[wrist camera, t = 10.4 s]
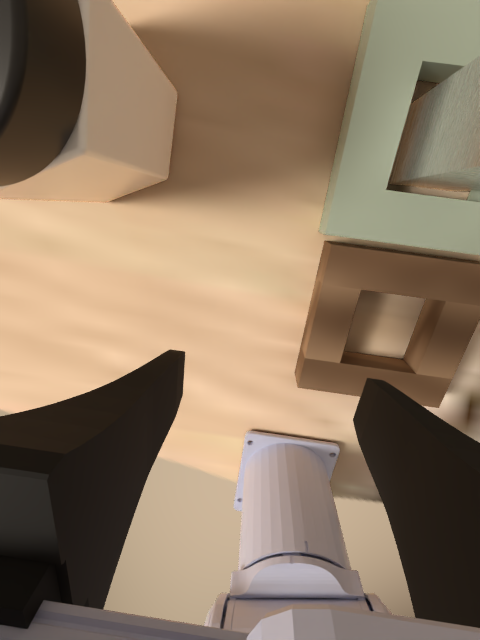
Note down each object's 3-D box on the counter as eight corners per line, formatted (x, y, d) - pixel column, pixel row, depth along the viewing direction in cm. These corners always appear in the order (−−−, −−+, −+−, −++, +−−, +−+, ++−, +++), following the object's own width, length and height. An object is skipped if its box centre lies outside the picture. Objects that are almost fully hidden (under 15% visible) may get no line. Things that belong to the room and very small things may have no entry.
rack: (490, 254, 18) (516, 260, 16) (318, 231, 19) (325, 234, 17) (588, 32, 14) (636, 6, 12) (367, 6, 15) (382, -24, 13)
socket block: (423, 391, 22) (438, 407, 20) (294, 372, 22) (297, 387, 21) (479, 261, 19) (503, 267, 17) (324, 240, 19) (331, 244, 17)
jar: (149, 3, 15) (-168, -581, 4) (203, 169, 18) (105, 103, 7) (9, 72, 17) (-509, -208, 5) (78, 216, 19) (-174, 227, 8)
